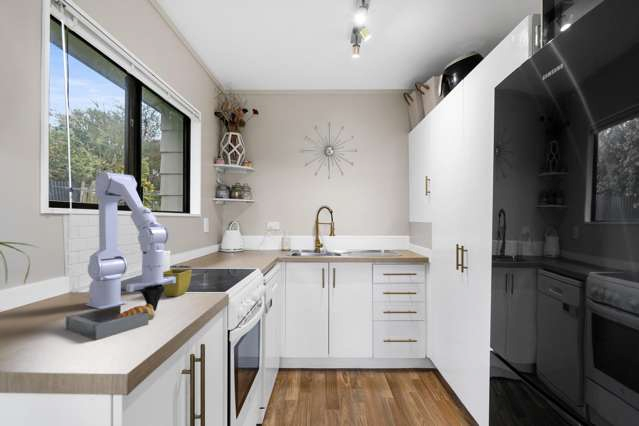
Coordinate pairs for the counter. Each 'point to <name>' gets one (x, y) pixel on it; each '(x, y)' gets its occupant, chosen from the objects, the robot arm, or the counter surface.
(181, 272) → the flower pot
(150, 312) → the pastry
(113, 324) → the grey tray
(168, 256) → the skincare box
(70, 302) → the counter surface
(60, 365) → the counter surface
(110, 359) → the counter surface
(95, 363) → the counter surface
